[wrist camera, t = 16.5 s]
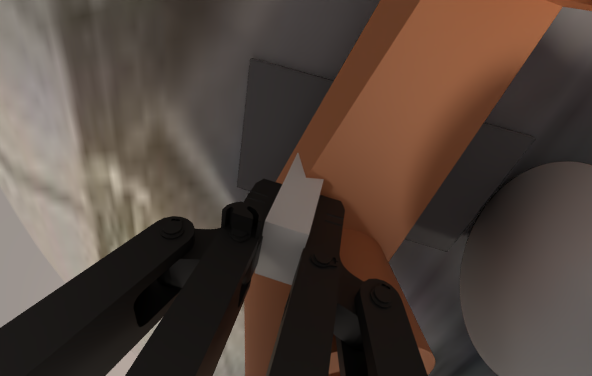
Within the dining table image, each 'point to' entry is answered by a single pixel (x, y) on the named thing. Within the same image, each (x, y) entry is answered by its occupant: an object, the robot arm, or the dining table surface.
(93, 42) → the dining table surface
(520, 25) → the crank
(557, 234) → the pipe stub
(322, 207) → the robot arm
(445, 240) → the gasket mat
